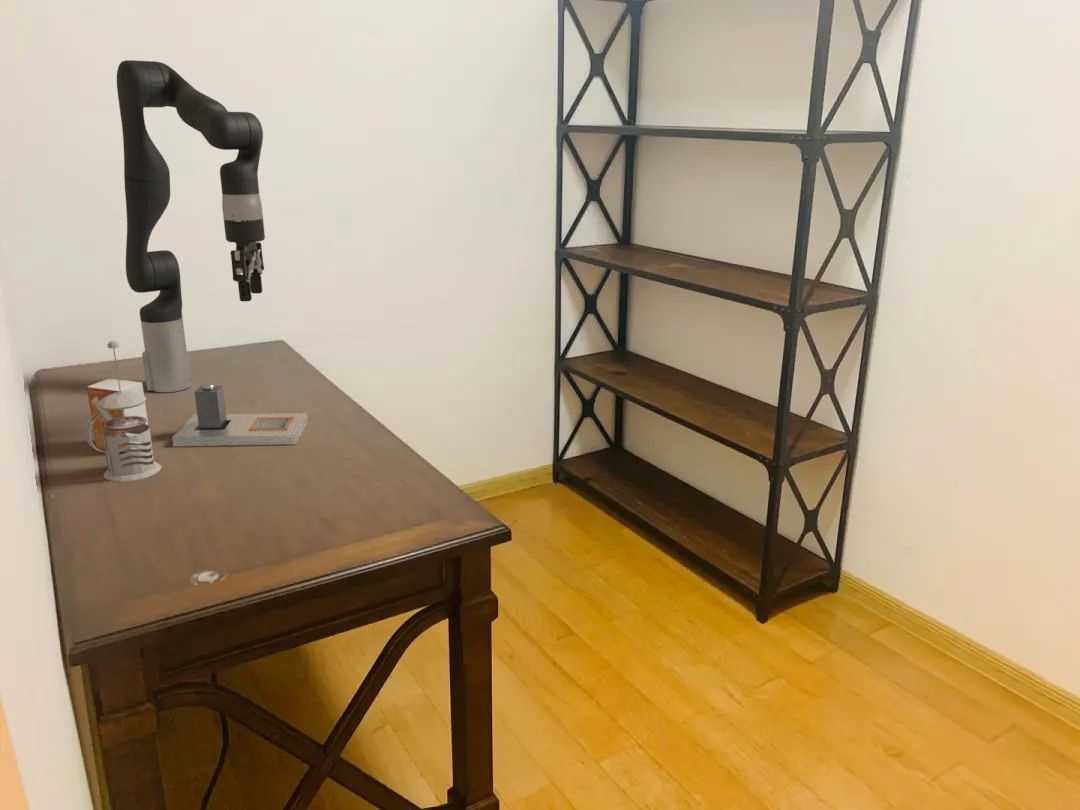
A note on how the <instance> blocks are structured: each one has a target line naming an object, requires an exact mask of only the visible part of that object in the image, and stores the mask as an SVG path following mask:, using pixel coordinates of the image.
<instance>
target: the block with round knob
mask: <svg viewBox="0 0 1080 810" xmlns="http://www.w3.org/2000/svg"><path fill="white" fill-rule="evenodd" d="M224 393H225V392H224V385H219V384H217V385H216V384H215V383H213V382H210V383H203V384H202V385H200V386H199V387H198V388H197V389H196V390H194V399H195V400H194V401H195V405H196V406H195V407H196V415H197V416H198V424H199V430H224V429H225V428H226V427H227V418H226V414H227V411H226V404H225V403H226V402H225V394H224Z"/></svg>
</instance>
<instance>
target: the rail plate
mask: <svg viewBox="0 0 1080 810" xmlns="http://www.w3.org/2000/svg"><path fill="white" fill-rule="evenodd" d="M226 418H227V427H226V428H225V429H224V430H199V424H198V416H197V414H193V415H192V416H191V417H190V419H188V420H187V421H186V422H185V423H184V424H183V425H182V426H181V428H179V430H178V431H177V432H176V433H174V435H173V436H172V445H173V446H172V447H174V448H177V447H179V448H180V447H226V446H227V447H229V446H233V447H234V446H235V447H236V446H281V445H282V446H283V445H284V446H286V445H292V446H293V445H294V446H295V445H296V443H297V441H298V440H299V438H300V437H301V436H302V435H301V434H302V433H303V432H304V429H305V428H306V425H307V424H308V422H309V421H308V412H293V413H292V412H291V413H289V412H287V413H286V412H285V413H284V412H283V413H279V412H278V413H274V412H273V413H226Z"/></svg>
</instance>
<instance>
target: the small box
mask: <svg viewBox="0 0 1080 810" xmlns="http://www.w3.org/2000/svg"><path fill="white" fill-rule="evenodd" d="M119 382H120V389H121V392H134V393H138V394H140V395H143V396H145V393H144V387H143V386H144V385H143V382H141V381H140V382H139V381H132V380H127V379H119ZM86 390H87V392H86V393H87V397H88V398H87V399H88V403H89V404H88V405H89V410H90V416H93V415H94V414H95V413H100V415H103V416H104V421H101V420H100V417H99V418H97V419H96V420H95V422H94V423H93V425H92V428H93V430H92V431H93V435H94V442H95V443H94V444H95V447H96V448H97V449H103V450H106V449H105V443H104V437H103V432H104V430H106V428H105V427H104V424H105V422H107V421H109V420H111V419H114V418H117V417H123V409H122V410H104V409H101V408H99V406H98V405H97V403H98V402H99V401H100V400H101V399H103V398H104V397H106V396H108V395H111V394H113V393H118V392H120V390H119V383H118V378H116V379H115V378H107V379H104V380H101V381H99V382H95V383H92V384H91V385H88V386H86ZM124 415H125V416H126V417H127V416H141V417H144V418H146V420H147V421H146V423H145V424H146V425H148V426H149V421H148V420H149V419H148V415H147V407H146V402H145V403H144V404H142V405H139V406H136V407H133V408H128V409H124ZM98 416H99V414H96V415H95V416H94V417H92V419H91V423H92V422H93V420H94V419H95V418H96V417H98ZM101 419H102V420H103V418H102V416H101ZM117 434H121V435H125V436H134V435H138V434H131V433H126V432H122V431H114V432H112V433H110V434H109V435H108V437H111V436H113V435H117ZM130 443H136V444H140V443H143V442H130ZM125 446H128V445H124V444H121V445H118V447H125ZM135 449H136V450H139V448H135ZM121 452H122V453H128V451H121ZM121 452H120V453H121Z"/></svg>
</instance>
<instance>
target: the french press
mask: <svg viewBox="0 0 1080 810" xmlns="http://www.w3.org/2000/svg"><path fill="white" fill-rule="evenodd" d="M107 348H108V349H112V350H113V357H114V364H115V369H116V376H117V380H118V383H119V390H120V392H118V393H113V394H111V395H108V396H106V397H104V398H103V399H101V400H100V401H99V402H98V403H97V405H98V406H99V408H101V409H104V410H122V409H123V417H117V418H114V419H111V420H109V421H107V422H105V424H104V427H105V428H106V430H104V432H103V437H104V443H105V449H102V448H96V445H95V444H94V443H93V441H92V436H91V433H92V432H91V431H92V428H93V423H94V422H95V420H96V419H97V418H99V417H100V420H101V421H104V416H103V415H100V413H95V414H94V415H93V416H91V415H90V416H91V417H90V418H89V419H88V420H87V422H86V424H85V427H84V428H85V429H84V433H85V439H86V440H87V444H89V446H90V447H91V448H93V449H94V450H95V451H97V452H100V453H103V454H104V455H105V461H106V467H107V469H106V471H105V472H104V473H103V477H104V479H106V480H108V481H110V482H123V483H124V482H133V481H138V480H144V479H146V478H149V477H151V476H154V475H156V474H157V473H159V472H160V471H161V469H162V466H161V464H160V463H159V462H156V460H155V458H154V452H153V443H152V436H151V429H150V426H149V424H148V425H146V424H145V423H146V421H147V420H148V419H147V420H146V418H144V417H141V416H127V417H126V416H125V415H124V409H128V408H133V407H136V406H139V405H142V404H144V403H145V404H146V401H147V397H146V396H145V395H144V396H143V395H140V394H138V393H134V392H121V389H120V382H119V380H120V376H119V370H118V364H117V357H116V356H117V355H116V352H115V349H117V348H120V343H119V342H118V341H117V340H110V341H109V342H108V343H107ZM96 414H99V416H98V417H96V418H95V419H94V420H93V422H92V417H94V416H95V415H96ZM101 416H102V418H103V420H102V419H101ZM90 421H91V424H90V427H89V423H90ZM88 427H89V430H88ZM114 431H122V432H126V433H131V434H138V435H134V436H125V435H121V434H117V435H113V436H111V437H108V435H109V434H110V433H112V432H114ZM130 442H143V443H140V444H136V443H130ZM121 444H124V445H128V446H125V447H118V445H121ZM135 448H138V449H135ZM121 451H128V453H126V452H122V453H121Z"/></svg>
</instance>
